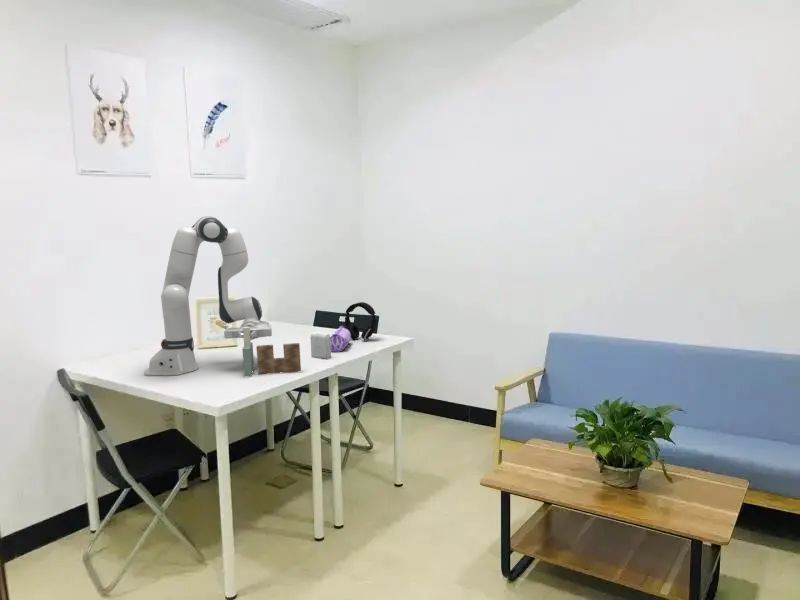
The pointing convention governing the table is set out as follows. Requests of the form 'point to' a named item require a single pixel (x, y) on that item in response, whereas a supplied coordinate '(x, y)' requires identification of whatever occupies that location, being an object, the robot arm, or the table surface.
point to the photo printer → (320, 344)
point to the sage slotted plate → (247, 353)
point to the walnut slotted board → (278, 359)
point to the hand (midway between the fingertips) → (246, 335)
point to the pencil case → (340, 339)
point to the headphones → (353, 328)
